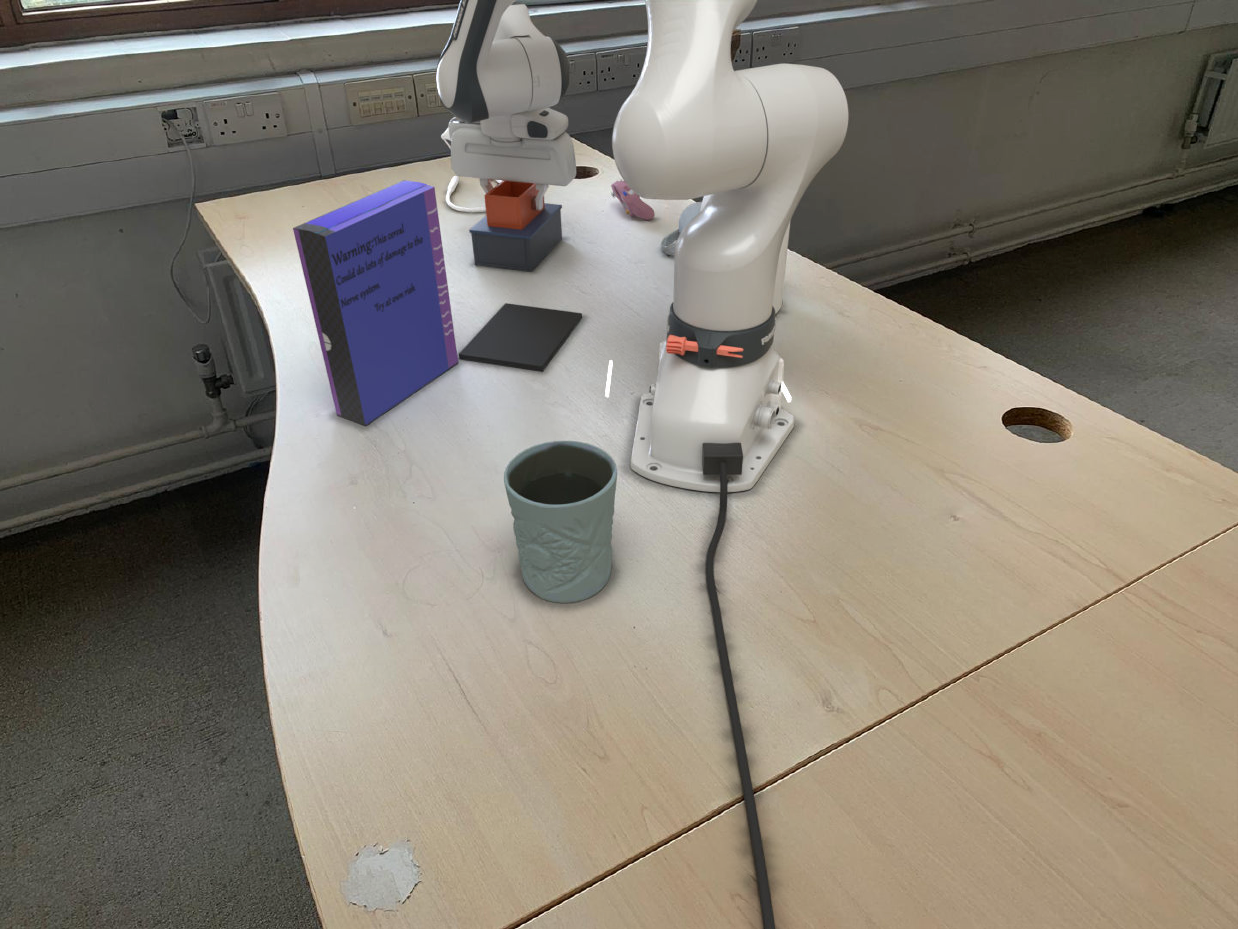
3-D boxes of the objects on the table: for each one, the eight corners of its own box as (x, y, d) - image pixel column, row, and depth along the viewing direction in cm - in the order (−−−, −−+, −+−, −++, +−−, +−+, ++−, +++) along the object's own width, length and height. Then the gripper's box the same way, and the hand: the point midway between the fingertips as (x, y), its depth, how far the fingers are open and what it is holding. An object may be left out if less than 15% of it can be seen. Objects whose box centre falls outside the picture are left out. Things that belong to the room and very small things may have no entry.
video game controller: (619, 212, 168) (602, 181, 164) (640, 199, 168) (624, 167, 164) (636, 231, 161) (619, 199, 156) (658, 217, 160) (641, 184, 156)
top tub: (522, 229, 142) (519, 198, 139) (487, 226, 143) (484, 195, 140) (544, 208, 150) (543, 178, 147) (511, 204, 151) (509, 174, 148)
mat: (542, 371, 118) (542, 366, 117) (459, 359, 121) (458, 353, 120) (582, 318, 130) (582, 312, 130) (505, 307, 133) (505, 302, 133)
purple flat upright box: (430, 354, 122) (403, 178, 108) (458, 363, 120) (434, 185, 106) (336, 415, 110) (292, 226, 96) (365, 426, 108) (324, 234, 94)
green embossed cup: (525, 617, 82) (515, 515, 75) (505, 547, 90) (494, 449, 83) (631, 594, 84) (631, 493, 77) (603, 528, 92) (600, 430, 85)
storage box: (532, 272, 143) (530, 236, 140) (473, 265, 146) (468, 229, 142) (563, 238, 154) (562, 204, 151) (507, 232, 157) (504, 199, 153)
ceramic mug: (718, 238, 153) (719, 194, 149) (730, 257, 147) (732, 211, 142) (657, 244, 152) (656, 199, 148) (666, 263, 146) (666, 217, 141)
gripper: (438, 119, 137) (449, 207, 146) (563, 129, 132) (568, 219, 141) (456, 108, 142) (465, 194, 150) (577, 117, 137) (581, 206, 145)
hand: (516, 206), depth 145 cm, fingers closed on top tub, 6 cm apart
